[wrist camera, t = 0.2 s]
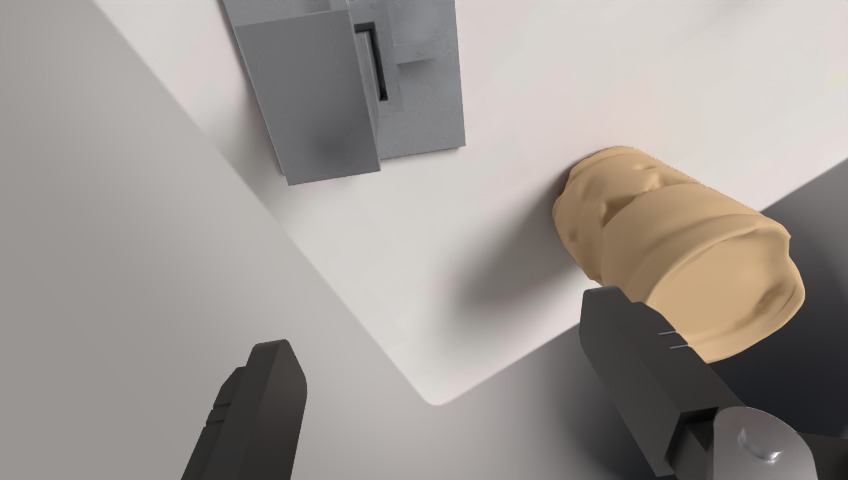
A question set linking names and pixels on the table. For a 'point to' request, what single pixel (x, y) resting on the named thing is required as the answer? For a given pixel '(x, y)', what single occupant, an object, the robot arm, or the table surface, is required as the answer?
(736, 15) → the table surface
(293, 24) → the column
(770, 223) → the container
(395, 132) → the stand
